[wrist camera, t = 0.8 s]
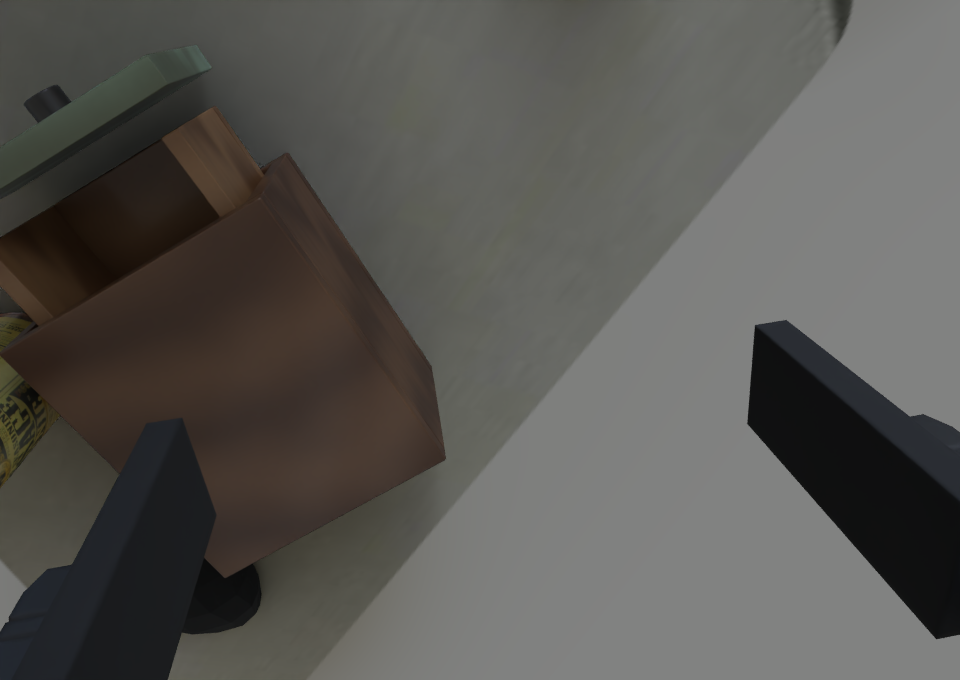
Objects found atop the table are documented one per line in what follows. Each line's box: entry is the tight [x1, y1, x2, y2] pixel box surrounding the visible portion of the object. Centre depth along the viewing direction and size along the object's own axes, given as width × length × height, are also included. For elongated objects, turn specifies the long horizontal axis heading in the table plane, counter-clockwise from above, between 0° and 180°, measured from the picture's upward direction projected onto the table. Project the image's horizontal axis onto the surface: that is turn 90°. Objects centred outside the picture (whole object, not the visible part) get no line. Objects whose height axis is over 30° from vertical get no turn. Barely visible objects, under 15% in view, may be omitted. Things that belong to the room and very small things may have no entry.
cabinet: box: [0, 153, 446, 578], centre depth 36 cm, size 15×13×10 cm
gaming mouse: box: [182, 558, 261, 634], centre depth 44 cm, size 6×15×4 cm, turn 14°
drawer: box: [0, 45, 264, 326], centre depth 33 cm, size 15×12×8 cm
